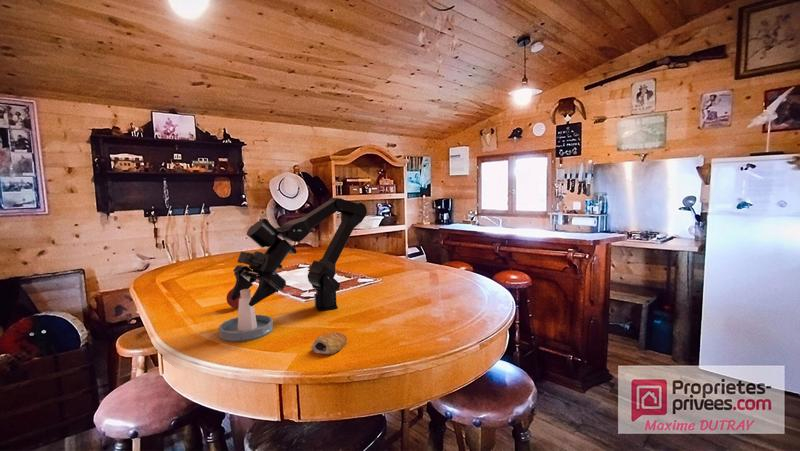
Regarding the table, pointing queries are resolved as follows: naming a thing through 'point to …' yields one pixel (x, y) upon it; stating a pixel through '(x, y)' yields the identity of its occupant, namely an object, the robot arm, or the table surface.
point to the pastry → (329, 343)
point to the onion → (232, 303)
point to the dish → (231, 333)
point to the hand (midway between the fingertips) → (240, 302)
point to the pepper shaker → (246, 312)
